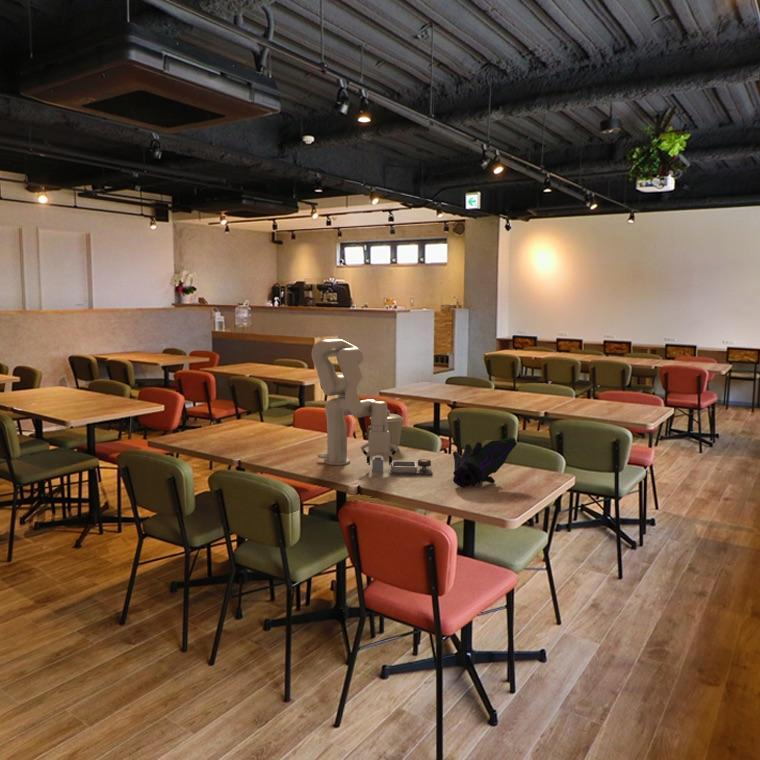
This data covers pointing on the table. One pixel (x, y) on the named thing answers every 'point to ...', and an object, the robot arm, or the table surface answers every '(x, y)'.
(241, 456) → the table surface
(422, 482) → the table surface
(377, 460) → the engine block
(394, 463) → the chassis
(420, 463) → the wheel
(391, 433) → the canister
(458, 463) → the decorative plant
